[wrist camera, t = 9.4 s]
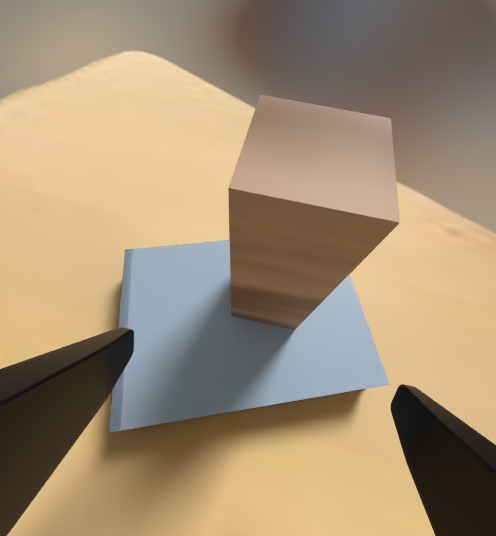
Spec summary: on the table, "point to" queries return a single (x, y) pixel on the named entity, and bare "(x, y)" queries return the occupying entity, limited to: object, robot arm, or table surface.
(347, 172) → the brown wooden block
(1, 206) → the table surface
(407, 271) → the table surface
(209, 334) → the book
